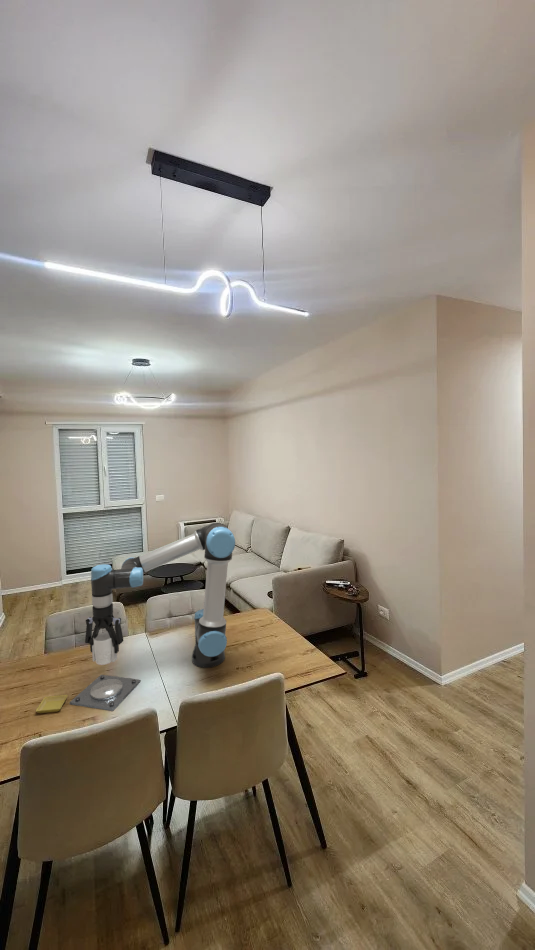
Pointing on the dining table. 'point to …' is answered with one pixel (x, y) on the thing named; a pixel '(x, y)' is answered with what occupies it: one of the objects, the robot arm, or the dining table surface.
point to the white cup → (103, 648)
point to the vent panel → (105, 692)
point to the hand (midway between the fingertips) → (105, 659)
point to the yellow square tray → (51, 704)
